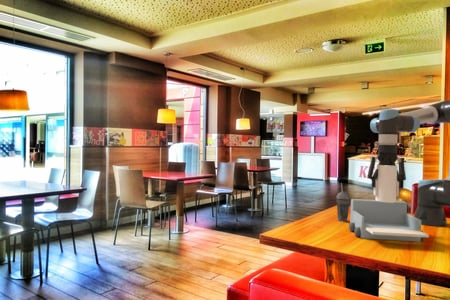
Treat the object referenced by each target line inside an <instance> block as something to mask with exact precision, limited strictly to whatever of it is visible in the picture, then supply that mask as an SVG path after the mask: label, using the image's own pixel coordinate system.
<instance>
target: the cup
mask: <svg viewBox="0 0 450 300" xmlns="http://www.w3.org/2000/svg"><path fill="white" fill-rule="evenodd" d="M376 169H378V177H377V179H376V180H377V181H378V187H377V195H374V197H375V199H374V200H376V201H380V202H388V203H394V202H396V201H397V196H396V187H397V170H398V165H397V164H396V166H390V165H378V164H376Z"/></svg>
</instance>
